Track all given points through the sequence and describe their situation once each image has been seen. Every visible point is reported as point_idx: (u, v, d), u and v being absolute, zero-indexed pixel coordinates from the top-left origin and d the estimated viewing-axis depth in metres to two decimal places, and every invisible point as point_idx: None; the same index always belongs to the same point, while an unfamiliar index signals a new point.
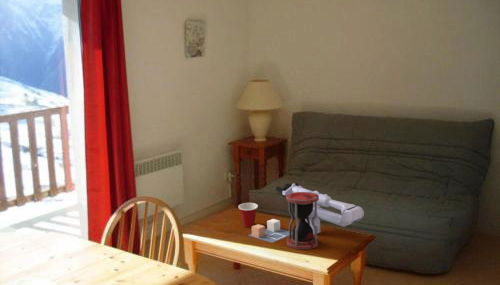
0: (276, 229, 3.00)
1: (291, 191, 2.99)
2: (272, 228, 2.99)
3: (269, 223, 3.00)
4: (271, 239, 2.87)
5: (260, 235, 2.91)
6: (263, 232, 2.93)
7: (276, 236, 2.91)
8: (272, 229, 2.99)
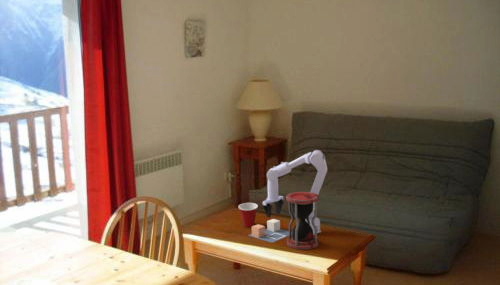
0: (276, 229, 3.00)
1: (269, 198, 2.97)
2: (272, 228, 2.99)
3: (269, 223, 3.00)
4: (271, 239, 2.87)
5: (260, 235, 2.91)
6: (263, 232, 2.93)
7: (276, 236, 2.91)
8: (272, 229, 2.99)
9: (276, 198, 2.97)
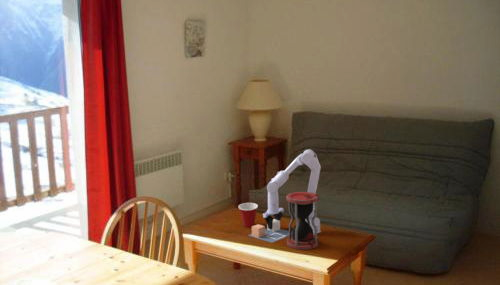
0: (276, 229, 3.00)
1: (269, 210, 2.99)
2: (272, 228, 2.99)
3: None
4: (271, 239, 2.87)
5: (260, 235, 2.91)
6: (263, 232, 2.93)
7: (276, 236, 2.91)
8: (272, 229, 2.99)
9: (276, 210, 2.98)
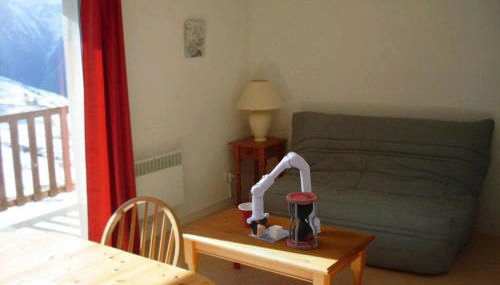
0: (279, 236, 2.90)
1: (253, 216, 2.90)
2: (274, 235, 2.89)
3: (271, 229, 2.90)
4: (271, 239, 2.87)
5: (260, 235, 2.91)
6: (263, 232, 2.93)
7: None
8: (274, 236, 2.89)
9: (261, 216, 2.90)
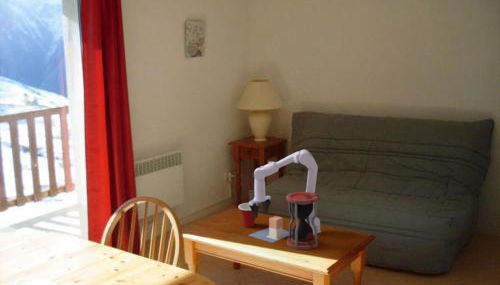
0: (279, 236, 2.90)
1: (255, 198, 2.94)
2: (274, 235, 2.89)
3: (271, 229, 2.90)
4: (271, 239, 2.87)
5: (278, 226, 2.88)
6: (281, 224, 2.90)
7: None
8: (274, 236, 2.89)
9: (263, 198, 2.94)
